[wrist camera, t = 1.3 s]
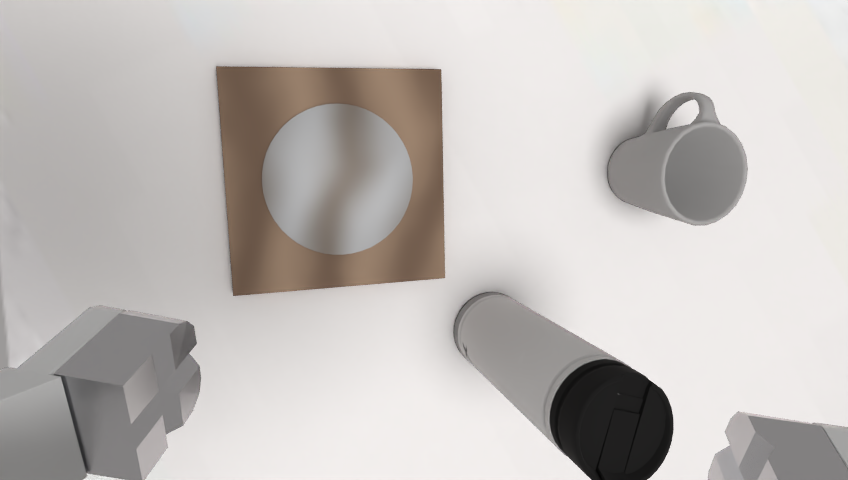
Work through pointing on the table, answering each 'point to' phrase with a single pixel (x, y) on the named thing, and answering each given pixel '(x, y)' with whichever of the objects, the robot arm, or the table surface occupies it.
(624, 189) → the cup
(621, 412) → the travel mug
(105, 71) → the table surface
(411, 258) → the board
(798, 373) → the table surface
